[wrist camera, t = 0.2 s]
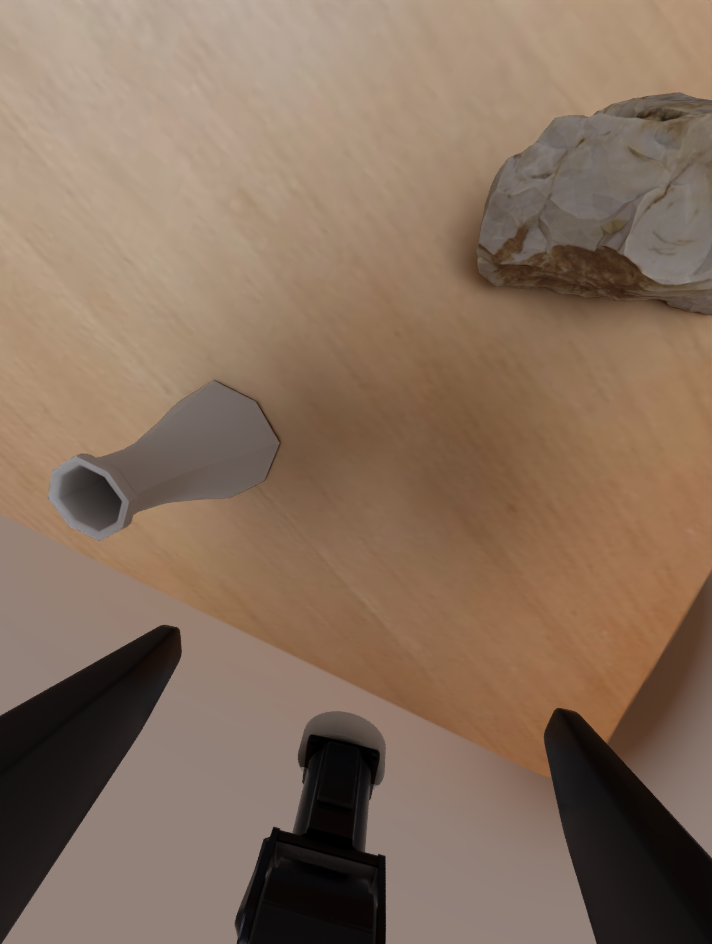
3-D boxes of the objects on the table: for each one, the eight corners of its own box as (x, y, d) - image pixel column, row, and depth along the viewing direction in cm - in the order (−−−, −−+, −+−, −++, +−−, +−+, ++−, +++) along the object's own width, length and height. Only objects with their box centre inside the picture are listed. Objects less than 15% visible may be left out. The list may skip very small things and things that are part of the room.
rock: (863, 135, 13) (1426, -198, 5) (752, 322, 16) (976, 316, 8) (525, 151, 17) (510, -8, 9) (488, 294, 20) (451, 272, 12)
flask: (152, 440, 22) (-30, 495, 13) (212, 358, 20) (44, 353, 11) (234, 513, 23) (119, 614, 14) (300, 442, 21) (217, 505, 12)
